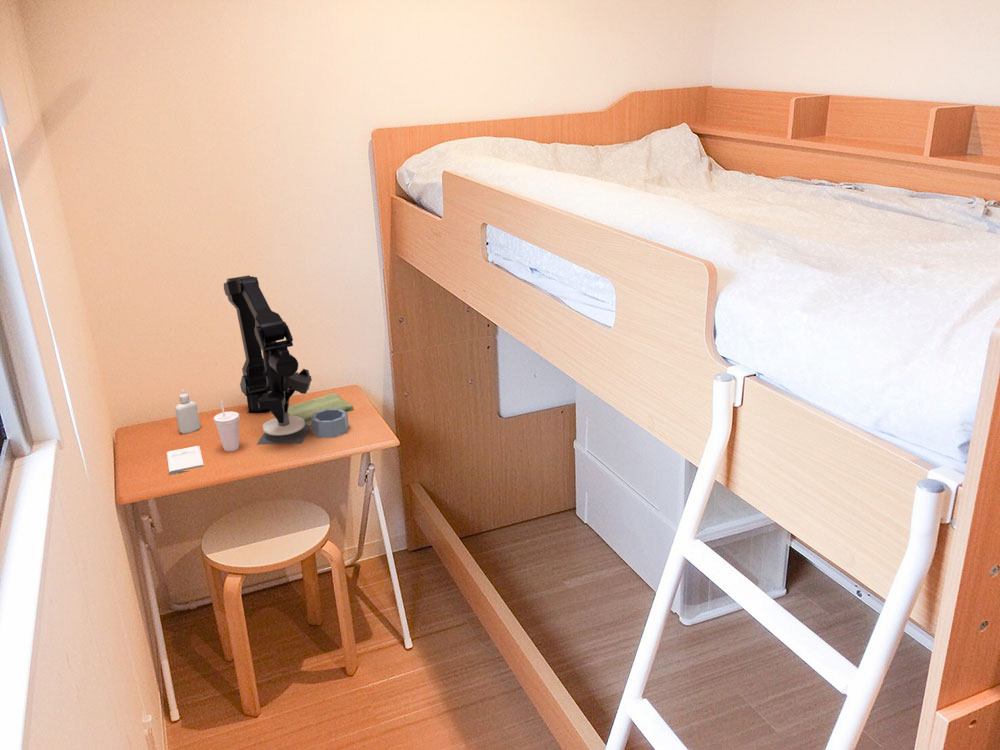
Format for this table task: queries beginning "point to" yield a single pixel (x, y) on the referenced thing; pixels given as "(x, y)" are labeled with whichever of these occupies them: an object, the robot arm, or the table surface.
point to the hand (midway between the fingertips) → (283, 420)
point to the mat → (286, 437)
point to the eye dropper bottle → (187, 414)
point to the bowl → (329, 423)
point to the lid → (284, 425)
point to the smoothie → (228, 429)
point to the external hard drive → (184, 459)
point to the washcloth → (318, 406)
